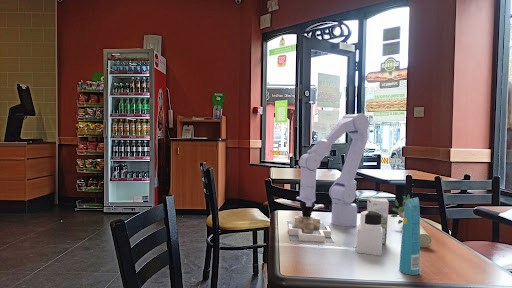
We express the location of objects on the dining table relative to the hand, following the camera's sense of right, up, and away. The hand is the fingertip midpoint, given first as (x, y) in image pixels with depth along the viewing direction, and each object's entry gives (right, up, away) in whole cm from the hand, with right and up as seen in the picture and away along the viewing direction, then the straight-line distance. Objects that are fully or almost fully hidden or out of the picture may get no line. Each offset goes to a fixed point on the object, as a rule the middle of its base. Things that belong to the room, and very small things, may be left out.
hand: (306, 222), depth 136 cm
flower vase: (+38, -4, -3) cm, 38 cm away
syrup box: (+21, -4, -15) cm, 26 cm away
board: (0, -2, -8) cm, 8 cm away
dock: (-1, -1, -14) cm, 14 cm away
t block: (0, -1, -6) cm, 6 cm away
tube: (+21, -4, -42) cm, 47 cm away
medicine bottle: (+16, -4, -25) cm, 30 cm away
